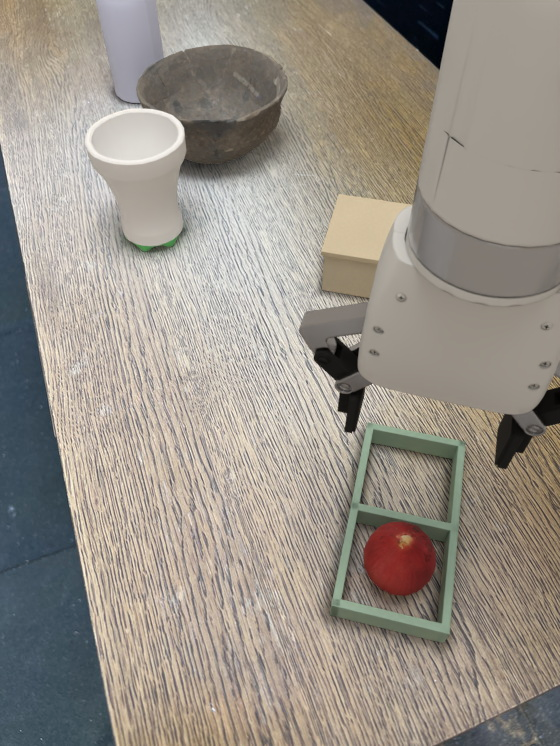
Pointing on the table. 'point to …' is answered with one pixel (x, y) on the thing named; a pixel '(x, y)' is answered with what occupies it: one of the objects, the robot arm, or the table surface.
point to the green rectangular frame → (429, 526)
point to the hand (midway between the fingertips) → (426, 432)
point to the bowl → (217, 98)
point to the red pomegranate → (399, 558)
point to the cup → (141, 171)
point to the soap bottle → (130, 41)
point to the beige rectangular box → (356, 243)
